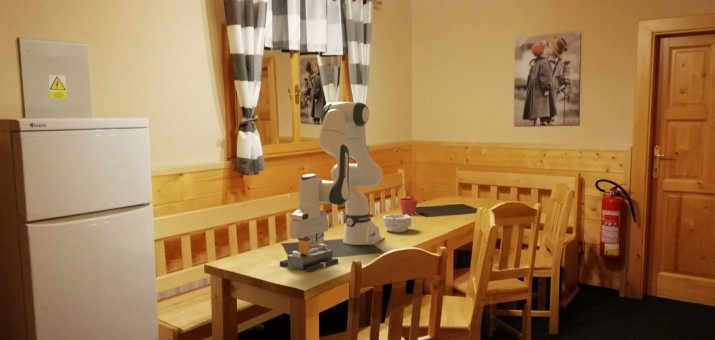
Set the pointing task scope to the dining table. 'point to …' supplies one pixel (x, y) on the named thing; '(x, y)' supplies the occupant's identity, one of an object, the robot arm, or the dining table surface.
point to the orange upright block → (304, 245)
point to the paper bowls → (397, 222)
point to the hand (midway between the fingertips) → (310, 245)
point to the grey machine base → (309, 257)
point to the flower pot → (408, 205)
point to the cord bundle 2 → (321, 265)
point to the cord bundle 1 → (284, 263)
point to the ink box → (318, 240)
